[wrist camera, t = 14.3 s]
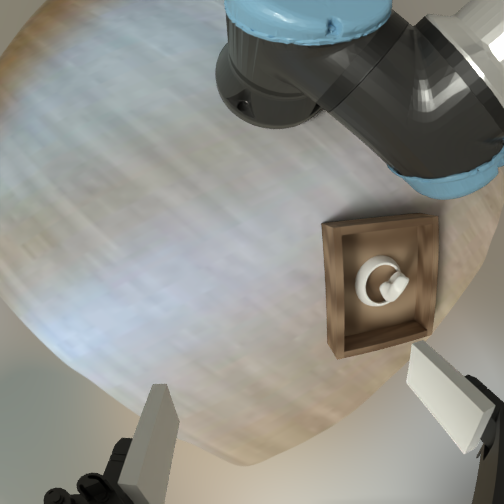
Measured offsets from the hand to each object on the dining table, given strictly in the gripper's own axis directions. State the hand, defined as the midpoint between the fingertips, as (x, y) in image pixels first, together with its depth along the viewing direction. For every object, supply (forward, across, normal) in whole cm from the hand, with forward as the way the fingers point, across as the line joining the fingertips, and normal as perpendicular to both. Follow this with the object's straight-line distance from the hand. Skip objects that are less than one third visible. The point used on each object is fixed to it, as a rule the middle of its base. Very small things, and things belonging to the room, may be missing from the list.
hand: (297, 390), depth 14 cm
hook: (+26, +17, -5) cm, 31 cm away
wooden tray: (+27, +17, -4) cm, 32 cm away
